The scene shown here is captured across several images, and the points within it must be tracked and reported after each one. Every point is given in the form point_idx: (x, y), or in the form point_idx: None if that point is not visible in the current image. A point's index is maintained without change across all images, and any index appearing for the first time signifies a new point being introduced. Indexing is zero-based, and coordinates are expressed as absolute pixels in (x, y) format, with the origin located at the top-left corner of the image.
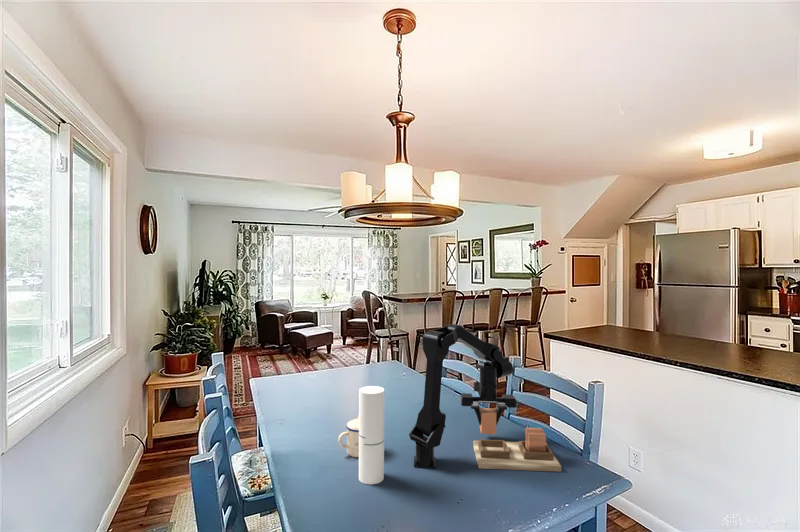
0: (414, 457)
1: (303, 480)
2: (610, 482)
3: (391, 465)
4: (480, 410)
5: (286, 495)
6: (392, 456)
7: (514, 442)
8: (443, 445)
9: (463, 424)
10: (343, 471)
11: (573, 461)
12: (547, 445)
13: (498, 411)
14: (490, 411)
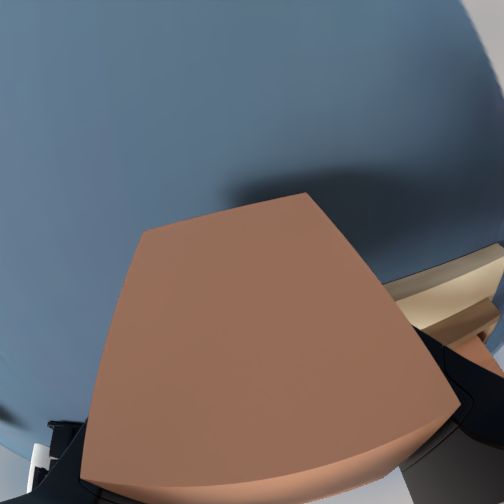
0: (52, 429)
1: (6, 444)
2: (492, 351)
3: (41, 435)
4: (148, 498)
5: (26, 458)
6: (11, 413)
7: (403, 302)
8: (45, 363)
9: (8, 26)
10: (12, 438)
11: (500, 305)
12: (487, 339)
13: (412, 490)
14: (325, 492)
